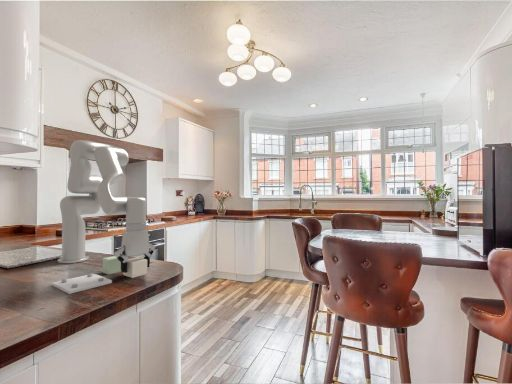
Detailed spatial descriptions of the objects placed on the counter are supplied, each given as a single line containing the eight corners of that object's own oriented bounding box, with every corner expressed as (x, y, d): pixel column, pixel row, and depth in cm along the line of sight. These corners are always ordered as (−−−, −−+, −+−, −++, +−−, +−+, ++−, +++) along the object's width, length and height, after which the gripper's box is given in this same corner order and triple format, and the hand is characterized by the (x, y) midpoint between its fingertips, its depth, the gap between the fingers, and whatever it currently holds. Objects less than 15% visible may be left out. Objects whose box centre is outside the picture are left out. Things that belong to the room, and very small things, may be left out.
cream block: (123, 275, 111) (123, 260, 111) (138, 271, 116) (138, 257, 116) (132, 278, 107) (132, 262, 107) (147, 274, 113) (147, 259, 113)
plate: (52, 285, 98) (52, 280, 98) (93, 275, 109) (93, 271, 109) (69, 294, 90) (69, 288, 90) (112, 282, 101) (112, 278, 101)
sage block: (102, 272, 114) (102, 258, 114) (114, 269, 118) (114, 255, 118) (108, 274, 111) (108, 259, 111) (120, 271, 115) (120, 257, 115)
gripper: (149, 224, 121) (149, 263, 121) (110, 228, 107) (109, 272, 107) (160, 226, 117) (159, 266, 117) (120, 230, 103) (119, 276, 102)
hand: (135, 269), depth 112 cm, fingers open, 9 cm apart
